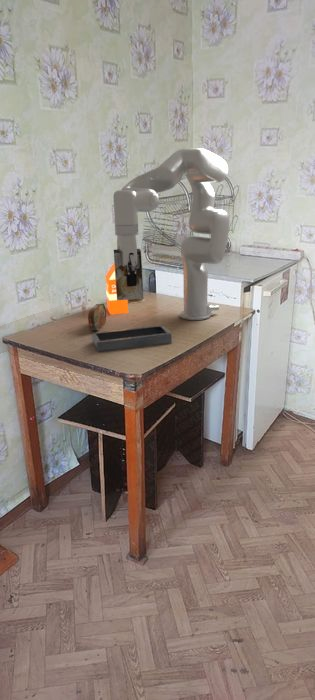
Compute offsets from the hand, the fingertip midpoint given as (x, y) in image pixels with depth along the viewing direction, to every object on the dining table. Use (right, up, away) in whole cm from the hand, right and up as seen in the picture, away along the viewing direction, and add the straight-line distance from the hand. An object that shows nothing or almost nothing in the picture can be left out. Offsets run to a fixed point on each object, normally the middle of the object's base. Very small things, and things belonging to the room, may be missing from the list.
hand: (129, 283), depth 174 cm
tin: (-13, -14, +25) cm, 32 cm away
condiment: (-1, 0, +61) cm, 61 cm away
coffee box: (0, -5, +2) cm, 5 cm away
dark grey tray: (+1, -20, +8) cm, 21 cm away
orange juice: (-7, -6, +46) cm, 47 cm away
